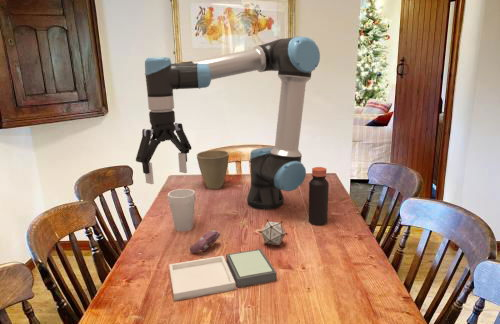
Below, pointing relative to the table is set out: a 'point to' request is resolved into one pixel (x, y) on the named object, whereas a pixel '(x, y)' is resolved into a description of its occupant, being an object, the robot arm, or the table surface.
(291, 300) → the table surface
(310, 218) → the bottle
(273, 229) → the game die
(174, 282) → the tray
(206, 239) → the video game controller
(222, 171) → the plant pot
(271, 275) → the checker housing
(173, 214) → the foam cup
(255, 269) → the pale green flat panel
